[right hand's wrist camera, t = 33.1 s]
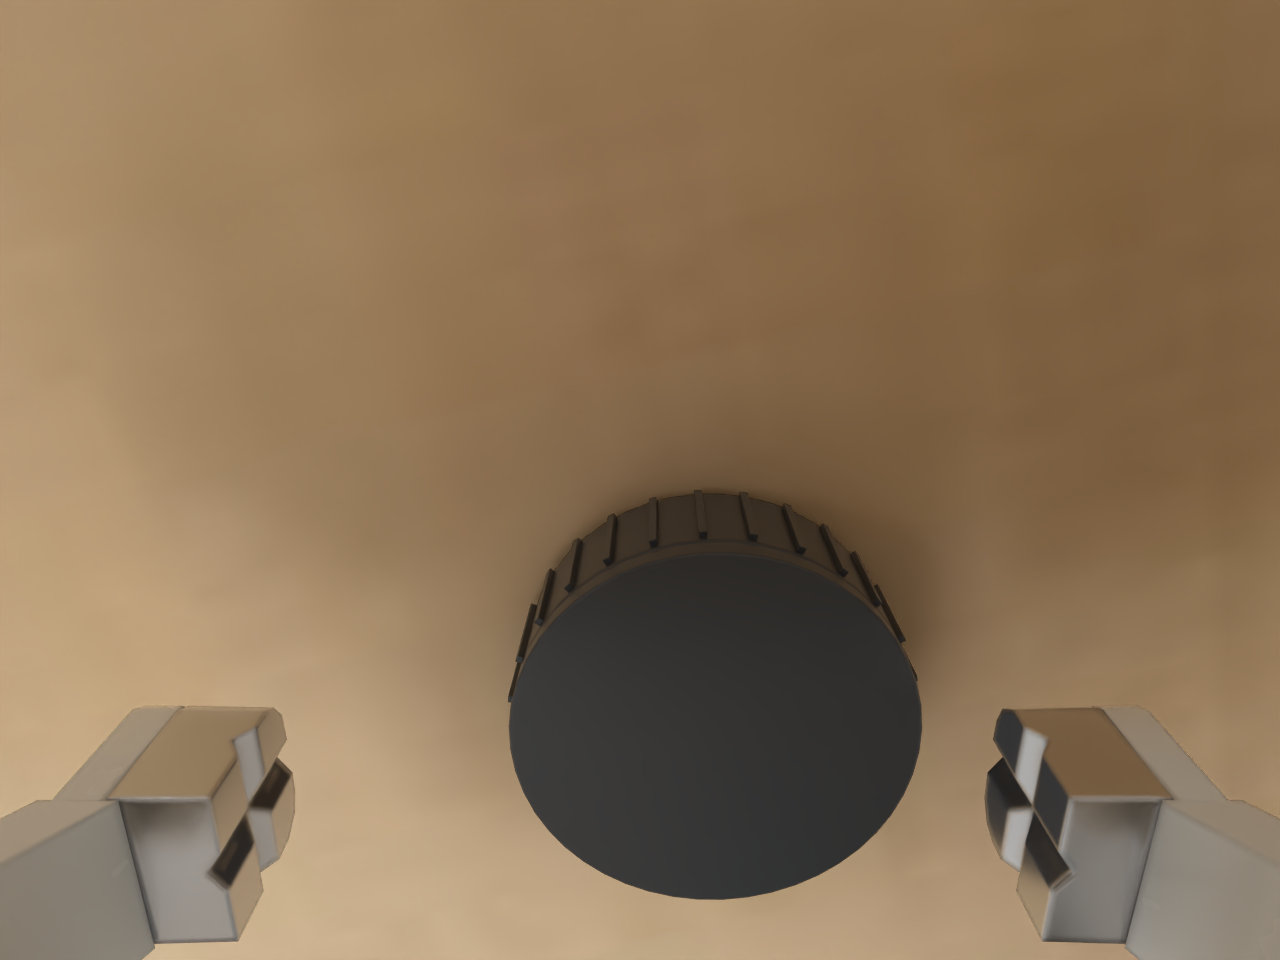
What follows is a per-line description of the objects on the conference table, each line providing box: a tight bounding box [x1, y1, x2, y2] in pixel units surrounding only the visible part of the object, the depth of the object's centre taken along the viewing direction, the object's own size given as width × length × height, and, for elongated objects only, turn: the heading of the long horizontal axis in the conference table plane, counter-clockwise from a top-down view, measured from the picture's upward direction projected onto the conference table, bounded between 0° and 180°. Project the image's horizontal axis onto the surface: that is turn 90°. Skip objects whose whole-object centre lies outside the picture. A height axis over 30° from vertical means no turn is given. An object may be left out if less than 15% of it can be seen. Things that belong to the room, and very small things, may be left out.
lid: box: [508, 490, 922, 900], centre depth 13 cm, size 6×6×2 cm
